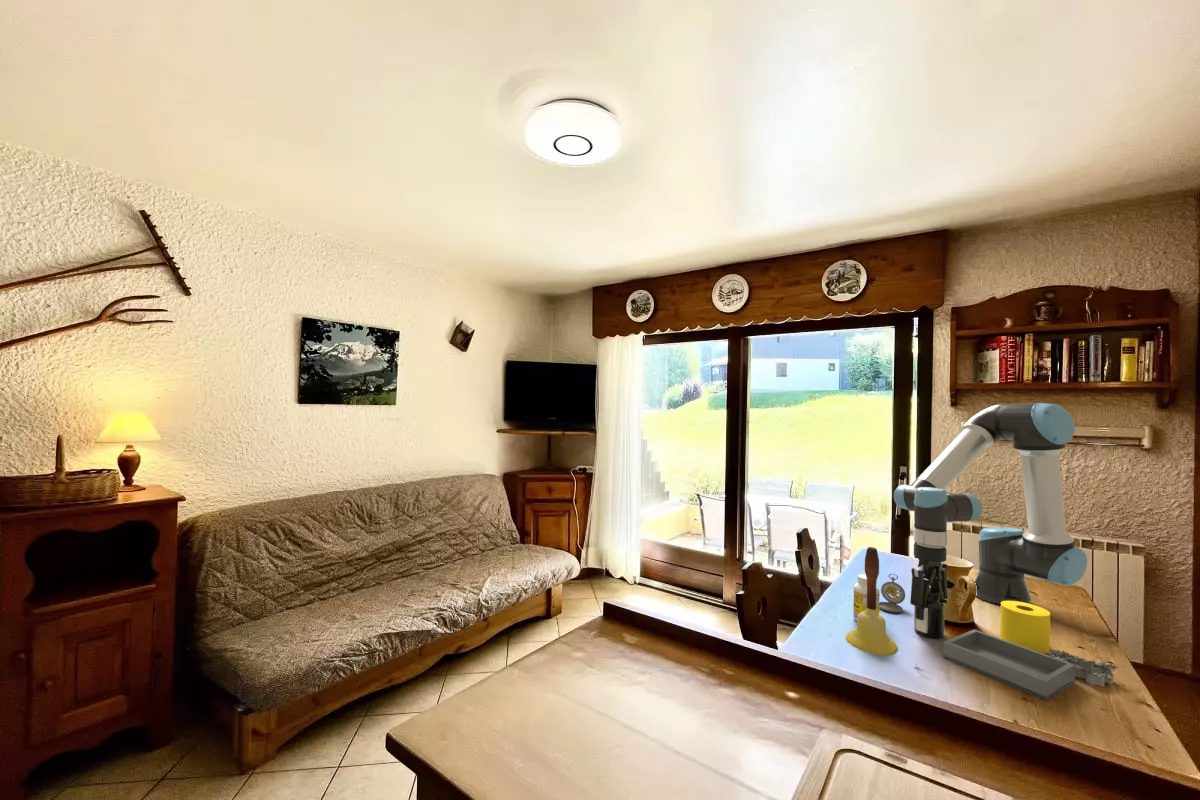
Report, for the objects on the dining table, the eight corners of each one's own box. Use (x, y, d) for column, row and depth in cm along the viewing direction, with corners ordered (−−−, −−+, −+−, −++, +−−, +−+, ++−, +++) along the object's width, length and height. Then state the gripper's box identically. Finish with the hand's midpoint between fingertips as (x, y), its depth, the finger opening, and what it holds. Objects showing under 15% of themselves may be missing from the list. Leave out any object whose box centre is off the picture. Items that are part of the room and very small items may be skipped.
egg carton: (1120, 685, 112) (1120, 667, 112) (1096, 689, 110) (1096, 670, 110) (1065, 661, 123) (1066, 644, 123) (1043, 664, 121) (1043, 647, 121)
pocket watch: (882, 612, 149) (882, 579, 150) (872, 602, 158) (872, 570, 158) (911, 615, 148) (912, 581, 148) (900, 604, 156) (900, 572, 156)
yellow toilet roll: (1016, 633, 137) (1017, 599, 137) (1059, 650, 128) (1059, 613, 128) (991, 637, 134) (991, 602, 134) (1032, 655, 125) (1033, 618, 125)
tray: (973, 644, 130) (974, 629, 130) (1074, 682, 112) (1074, 664, 112) (943, 657, 123) (943, 641, 123) (1046, 700, 105) (1046, 681, 105)
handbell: (842, 629, 137) (843, 539, 138) (892, 637, 133) (893, 544, 134) (848, 649, 126) (849, 551, 126) (903, 659, 122) (904, 557, 122)
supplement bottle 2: (928, 627, 140) (928, 584, 140) (950, 638, 133) (950, 593, 133) (908, 629, 138) (908, 586, 138) (930, 640, 132) (930, 595, 132)
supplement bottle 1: (851, 614, 148) (852, 571, 148) (876, 618, 145) (877, 574, 145) (855, 623, 141) (855, 578, 141) (881, 627, 139) (881, 582, 139)
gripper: (934, 537, 144) (933, 616, 144) (895, 545, 135) (894, 629, 134) (963, 543, 138) (962, 626, 137) (924, 552, 128) (923, 641, 128)
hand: (929, 627), depth 136 cm, fingers closed on supplement bottle 2, 7 cm apart
